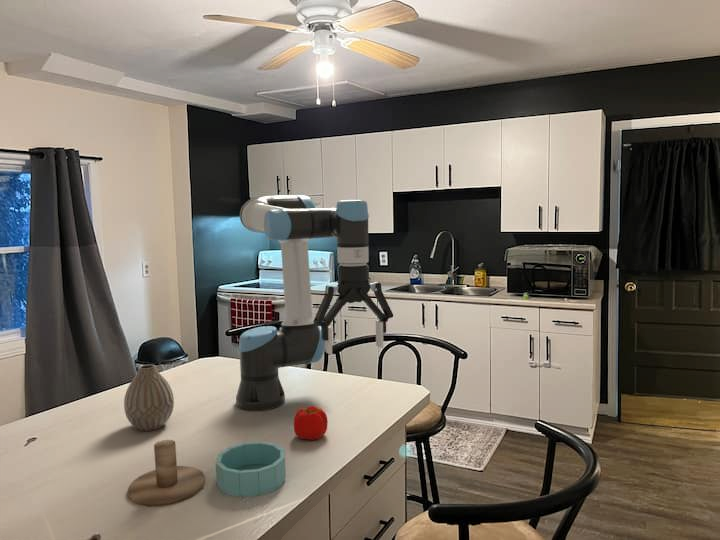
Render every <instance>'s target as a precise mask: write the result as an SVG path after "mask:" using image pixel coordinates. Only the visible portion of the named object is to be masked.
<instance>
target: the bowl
mask: <svg viewBox="0 0 720 540" xmlns="http://www.w3.org/2000/svg"><path fill="white" fill-rule="evenodd" d="M285 451H286V450H285V449H284V448H282V447H281V446H280V445H278V444H276V443H273V442H266V441H253V442H251V441H250V442H242V443H239V444H236V445H233V446H229V447H227V448H225V449H224V450H223V451H221V452H220V453H218V454H217V457H216V461H215V474H216V475H215V479H216V486H217V488H218V489H219V490H220V492H222V493H224V494H226V495H228V496H232V497H240V498H249V497H257V496H263V495H265V494H268V493H271V492H274V491H275V490H277V489H278V488H280V487H281V486H282V485H283V484H284V483H285V480H286V477H287V476H286V452H285Z"/></svg>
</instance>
